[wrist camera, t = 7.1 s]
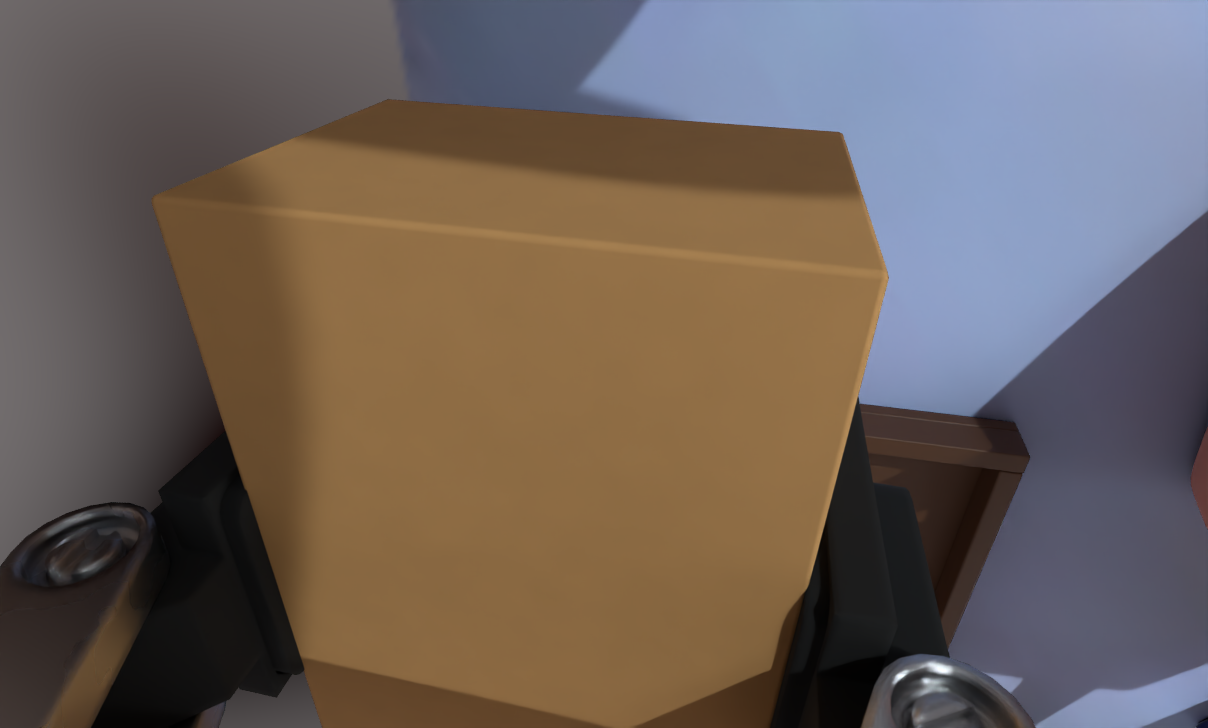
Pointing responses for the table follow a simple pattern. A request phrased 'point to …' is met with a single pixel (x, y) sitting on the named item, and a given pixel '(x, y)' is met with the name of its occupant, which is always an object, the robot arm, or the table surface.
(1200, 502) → the pink jerry can
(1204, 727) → the supplement box
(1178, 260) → the table surface
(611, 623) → the tan rectangular block
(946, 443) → the brown wooden tray
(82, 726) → the robot arm
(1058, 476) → the table surface
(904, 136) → the table surface
